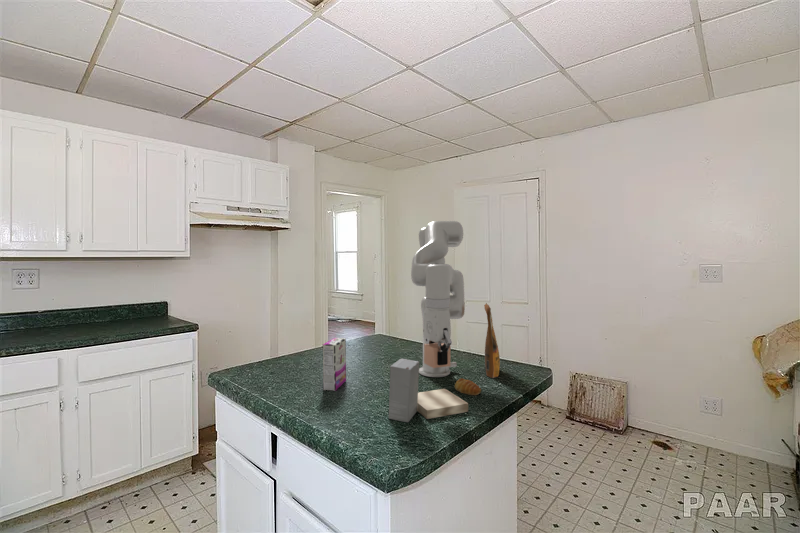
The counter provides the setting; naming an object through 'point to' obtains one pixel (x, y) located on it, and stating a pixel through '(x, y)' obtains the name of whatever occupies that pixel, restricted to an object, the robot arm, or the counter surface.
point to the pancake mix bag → (491, 348)
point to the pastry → (467, 387)
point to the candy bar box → (334, 364)
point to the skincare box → (403, 389)
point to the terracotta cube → (434, 355)
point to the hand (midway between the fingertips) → (437, 361)
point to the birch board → (440, 403)
